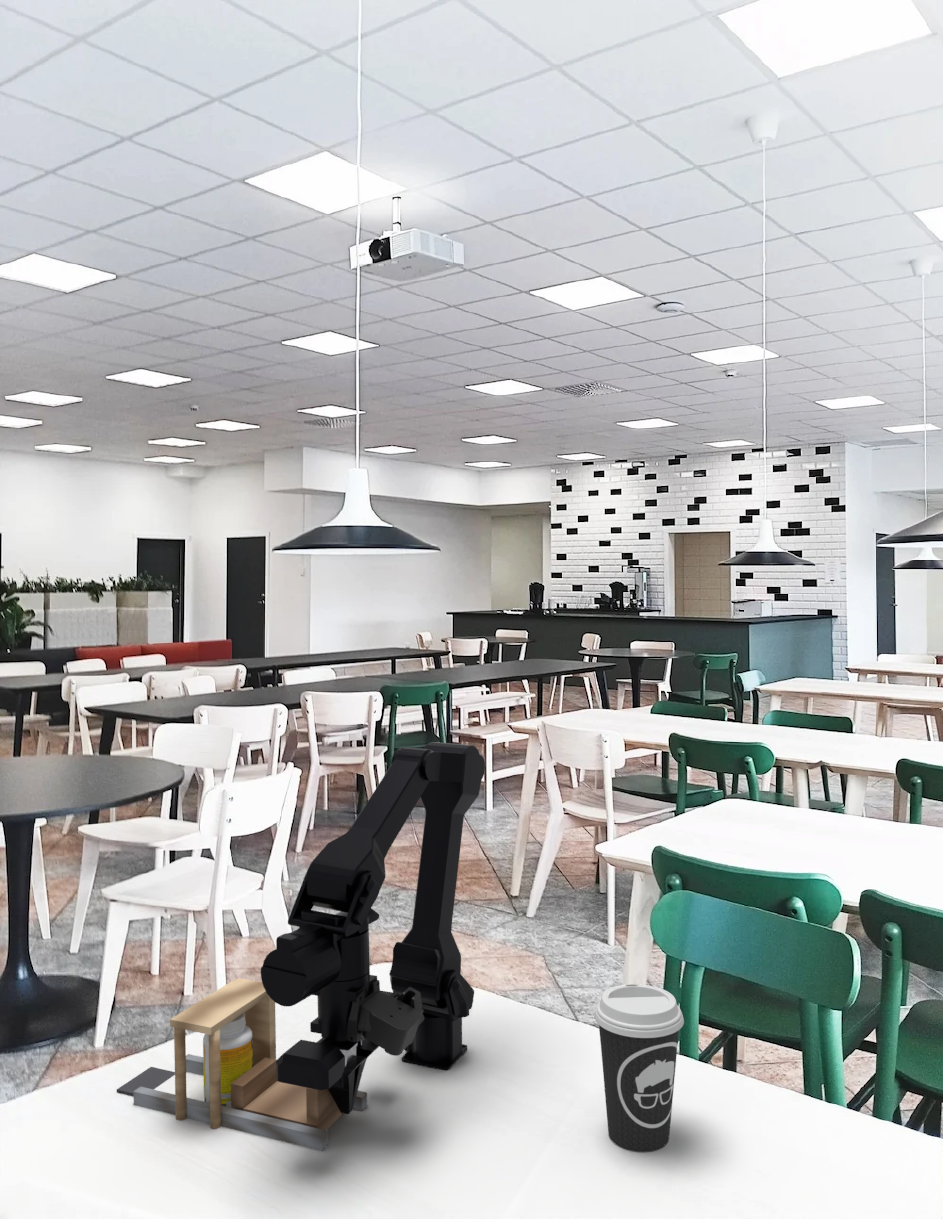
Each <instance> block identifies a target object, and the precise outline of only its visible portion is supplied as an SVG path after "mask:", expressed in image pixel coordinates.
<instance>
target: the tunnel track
mask: <svg viewBox="0 0 943 1219" xmlns="http://www.w3.org/2000/svg"><path fill="white" fill-rule="evenodd" d="M243 1013H245V1021H246V1024H245V1025H246V1026H248V1027H249V1028H250V1029H251V1031H252V1038H253V1040H252V1043H253V1066H255V1065H256V1064H257V1063H259V1062H260V1061H261V1060H262V1059H264V1058H269V1059H274V1060H277V1041H276V1040H277V1036H276V1035H277V1034H276V1033H277V1032H276V1030H277V1029H276V1027H277V1026H276V1024H277V1023H276V1002H274V1001H273V1000H272V999H271V998H270V997H269V995H268V994H267V993H266V991H265V989H264V987H263V983H262V981H256V980H251V979H244V978H238V977H237V978H235V979H233V980H232V981H230V982H229V983H227V984H225V985H224V986H222V987H220V988H219V989H217V990H215V991H213V992H212V993H211V994H209V995H208V996H205V997H203V998H202V999H201V1000H199V1001H197V1002H196V1003H195V1004H193V1005H191V1006H189V1007H188V1008H186V1009H185V1010H183V1011H181V1012H180V1013H178V1014H176V1015H175V1016H173V1017H171V1018H170V1019H169V1027H170V1028H173V1040H174V1041H173V1042H174V1043H173V1044H174V1046H173V1047H174V1072H175V1075H174V1089H175V1090H174V1093H175V1094H174V1093H170V1092H165V1091H161V1090H157V1089H154V1090H153V1089H149V1088H145V1087H139V1088H138V1089H136V1090H135V1091H133V1094H134V1096H133V1106H134V1105H135V1106H137V1107H142V1108H145V1109H146V1108H147V1109H149V1110H154V1111H158V1112H162V1113H166V1114H170V1115H174V1116H175V1120H176V1121H184V1120H186V1119H191V1120H195V1121H198V1122H203V1123H207V1124H209V1126H210V1129H212V1130H217V1129H220V1128H227V1129H231V1130H236V1131H240V1132H243V1133H248V1134H251V1135H255V1136H259V1137H264V1138H268V1139H270V1140H271V1139H272V1140H275V1141H280V1142H282V1143H283V1142H284V1143H288V1144H293V1145H296V1146H300V1147H303V1148H307V1149H312V1150H316V1151H320V1152H323V1151H324V1150H325V1149H326V1147H328V1145H329V1130H322V1129H318V1128H314V1127H309V1126H305V1125H301V1124H297V1123H293V1122H288V1121H284V1120H280V1119H276V1118H271V1117H267V1116H263V1115H259V1114H255V1113H250V1112H246V1111H242V1110H238V1109H233V1108H229V1107H225V1106H221V1067H220V1029H221V1028H222V1027H223V1026H225V1025H226V1024H228V1023H229V1022H231V1021H232V1020H234V1019H235V1018H237V1017H238V1016H240V1015H241V1014H243ZM186 1031H190V1032H195V1033H200V1034H204V1035H205V1034H209V1082H210V1103H208V1102H204V1100H199V1099H195V1098H191V1097H188V1096H187V1073H192V1074H194V1075H200V1076H204V1072H203V1071H204V1069H203V1056H200V1055H195V1054H192V1053H191V1054H190V1053H188V1054H186V1053H187V1052H186V1049H187V1048H186V1047H187V1046H186ZM277 1081H278V1080H277ZM306 1088H307V1087H306ZM367 1106H368V1092H366V1091H362V1090H358V1091H357V1095H356V1099H355V1103H354V1107H353V1110H355V1111H360V1112H362V1111H364V1110H365V1109H366V1107H367Z"/></svg>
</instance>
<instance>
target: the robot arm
mask: <svg viewBox="0 0 943 1219" xmlns="http://www.w3.org/2000/svg"><path fill="white" fill-rule="evenodd" d="M390 764H391V765H390V767H389V768H388V769H387V771H386V773H385V774H384V776H383V777H382V779H381V780H380V782H379V784H378V785H377V786H376V788H375V790H374V791H373V792H372V794H371V796H370V797H369V799H368V800H367V802H366V803H365V805H364V806H363V808H362V810H361V812H359V814H358V815H357V818H356V819H355V821H354V823H353V824H352V825H351V827H350V828H349V829H348V830H347V831H346V832H345V833H344V834H343V835H340V836H339V837H337V838H335V839H332V840H331V841H330V842H328V843H327V844H326V845H325V846H324V847H323V849H321V851H320V852H319V853H318V854H317V855H316V856H315V857H314V859H313V860H311V862H310V864H309V866H308V868H307V870H306V873H305V875H304V878H303V880H302V883H301V885H300V888H299V890H298V892H297V896H296V898H295V901H294V904H293V905H292V909H291V911H290V914H289V917H288V919H287V925H289V926H293V927H298V928H297V929H294V930H293V931H291V932H287V933H283V934H281V935H279V936H277V937H276V939H275V940H276V941H275V942H276V945H275V946H276V947H275V949H274V950H272V951H270V952H269V953H268V954H267V955H266V956H265V958H264V960H263V962H262V966H261V968H260V980H261V982H262V983H263V987H264V989H265V991H266V993H267V994H268V995H269V997H270V998H271V999H272V1000H273V1001H274V1002H275V1004H277V1005H280V1006H282V1007H292V1006H295V1005H297V1004H299V1003H301V1002H302V1001H304V1000H305V999H307V998H309V997H311V996H316V997H317V1017H316V1018H314V1019H313V1020H312V1021H311V1022H310V1023H309V1024H310V1025H309V1026H310V1033H314V1034H320V1037H321V1038H320V1039H319V1040H318V1041H311V1040H310V1041H309V1040H305V1039H300V1040H299V1041H297V1042H296V1043H294V1044H293V1045H292V1046H291V1047H290V1048H288V1049H287V1050H286V1051H285V1052H283V1053H282V1055H280V1056H279V1057H278V1058H276V1078H277V1080H278V1082H282V1083H287V1084H292V1085H297V1086H302V1087H307V1088H312V1089H317V1090H325V1089H328V1090H329V1092H330V1094H331V1096H332V1097H333V1099H334V1101H335V1103H336V1105H337V1107H338V1109H339V1110H340V1112H341V1113H343V1114H344V1115H350V1114H351V1112H352V1111H353V1110H354V1109H353V1107H354V1103H355V1099H356V1095H357V1091H359V1087H360V1083H361V1080H362V1075H363V1072H364V1069H365V1065H366V1061H367V1059H368V1058H369V1057H370V1056H371V1055H372V1054H373V1053H374V1052H375V1051H376V1050H377V1049H379V1047H380V1048H381V1049H383V1050H384V1052H385V1053H387V1054H388V1055H391V1056H394V1057H395V1056H396V1057H397V1056H401V1055H402V1054H403V1053H404V1052H406V1053H405V1054H404V1055H402V1057H401V1062H402V1063H406V1064H409V1065H410V1064H411V1065H416V1066H420V1067H426V1068H431V1069H436V1070H440V1071H450V1070H451V1069H452V1067H453V1066H455V1064H456V1063H457V1061H459V1060H460V1058H461V1057H462V1056H464V1055H465V1053H467V1051H468V1050H469V1049H468V1048H469V1047H468V1045H467V1044H464V1043H463V1018H467V1017H469V1016H470V1010H472V1008H473V1003H474V995H475V990H474V988H473V987H472V986H471V984H470V983H469V982H468V981H467V980H466V979H465V977H464V976H463V974H461V972H462V971H461V969H462V965H461V964H462V954H461V952H460V950H459V947H458V945H457V943H456V939H455V938H454V935H453V933H452V926H453V919H454V917H453V916H454V907H455V900H456V890H457V883H458V882H457V881H458V874H459V873H458V872H459V871H458V870H459V863H460V855H461V854H460V853H461V846H462V836H463V826H464V820H465V819H464V818H465V815H466V814H467V812H468V810H469V809H470V808H471V807H472V805H473V803H475V801H476V800H477V798H478V797H479V796H480V791H481V784H482V781H483V778H484V775H485V770H486V761H485V758H484V757H483V755H481V753H480V752H479V749H478V748H477V746H475V745H473V744H471V745H470V744H461V743H460V744H459V743H449V742H441V741H440V742H437V741H436V742H435V741H431V742H428V743H427V744H426V745H425V746H424V748H419V747H408V746H403V747H401V748H397V749H396V750H395V751H394V752H393V754H392V757H391V761H390ZM419 800H421V803H422V805H423V808H424V812H425V815H424V824H423V833H422V839H421V840H422V841H421V847H420V848H421V849H420V858H419V867H418V874H417V882H416V883H417V884H416V891H415V900H414V908H413V916H412V925H411V929H410V930H409V931H408V933H407V935H405V937H404V938H403V940H402V941H397V942H395V944H394V946H393V948H392V962H391V968H390V970H389V973H388V974H389V981H390V982H389V983H390V986H391V987H390V988H391V990H392V991H385V990H381V986H380V985H381V984H380V980H379V979H378V976H377V975H372V974H371V972H370V968H371V966H370V963H371V962H370V931H369V930H370V927H369V926H370V925H371V924H372V923H374V922H376V921H378V920H379V919H380V914H379V912H377V911H376V910H375V909H373V908H372V907H373V906H374V904H375V902H376V900H377V898H378V896H379V894H380V890H381V888H382V886H383V884H384V881H385V879H386V876H387V875H386V865H385V864H386V863H385V858H386V857H387V854H388V852H389V850H390V849H391V847H392V845H393V843H394V842H395V840H396V839H397V837H398V836H399V833H400V832H401V830H402V829H403V827H404V825H405V823H406V822H407V820H408V818H409V817H410V815H411V813H412V812H413V810H414V808H415V807H416V805H417V803H418V802H419ZM313 907H316V908H321V909H327V910H331V911H336V912H337V911H338V912H337V913H336V914H335V913H329V912H328V913H327V912H323V911H318V910H313Z"/></svg>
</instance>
